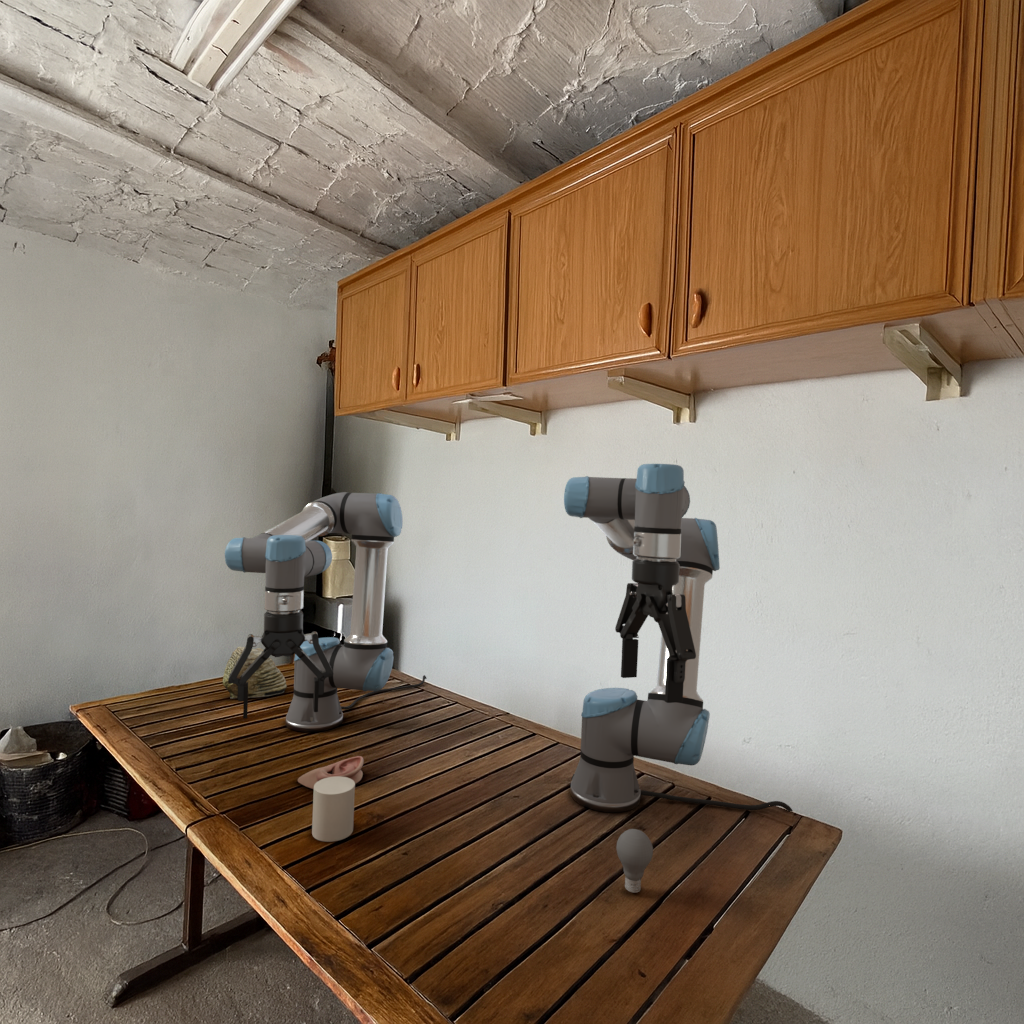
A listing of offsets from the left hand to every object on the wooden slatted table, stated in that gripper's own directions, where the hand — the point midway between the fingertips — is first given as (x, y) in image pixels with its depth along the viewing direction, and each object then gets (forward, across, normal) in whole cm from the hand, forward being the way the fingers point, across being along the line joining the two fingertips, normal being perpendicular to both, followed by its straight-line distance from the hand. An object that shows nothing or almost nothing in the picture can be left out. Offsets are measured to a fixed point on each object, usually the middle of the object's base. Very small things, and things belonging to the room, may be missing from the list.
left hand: (281, 713), depth 131 cm
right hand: (-16, +55, -51) cm, 76 cm away
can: (+18, +9, -15) cm, 26 cm away
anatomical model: (+19, +11, +7) cm, 23 cm away
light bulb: (+18, +54, -49) cm, 75 cm away
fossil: (+20, -5, +74) cm, 77 cm away
